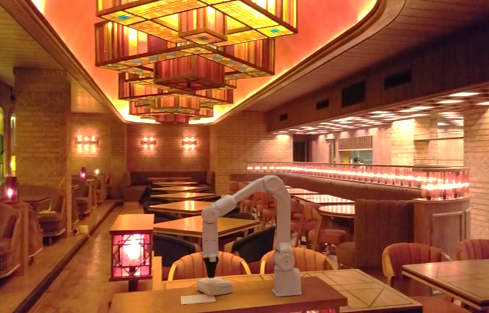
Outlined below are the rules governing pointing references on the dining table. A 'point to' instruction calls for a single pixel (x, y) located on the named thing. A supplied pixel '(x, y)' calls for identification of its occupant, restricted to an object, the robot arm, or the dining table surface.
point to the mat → (197, 299)
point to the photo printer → (214, 286)
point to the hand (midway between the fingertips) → (211, 277)
